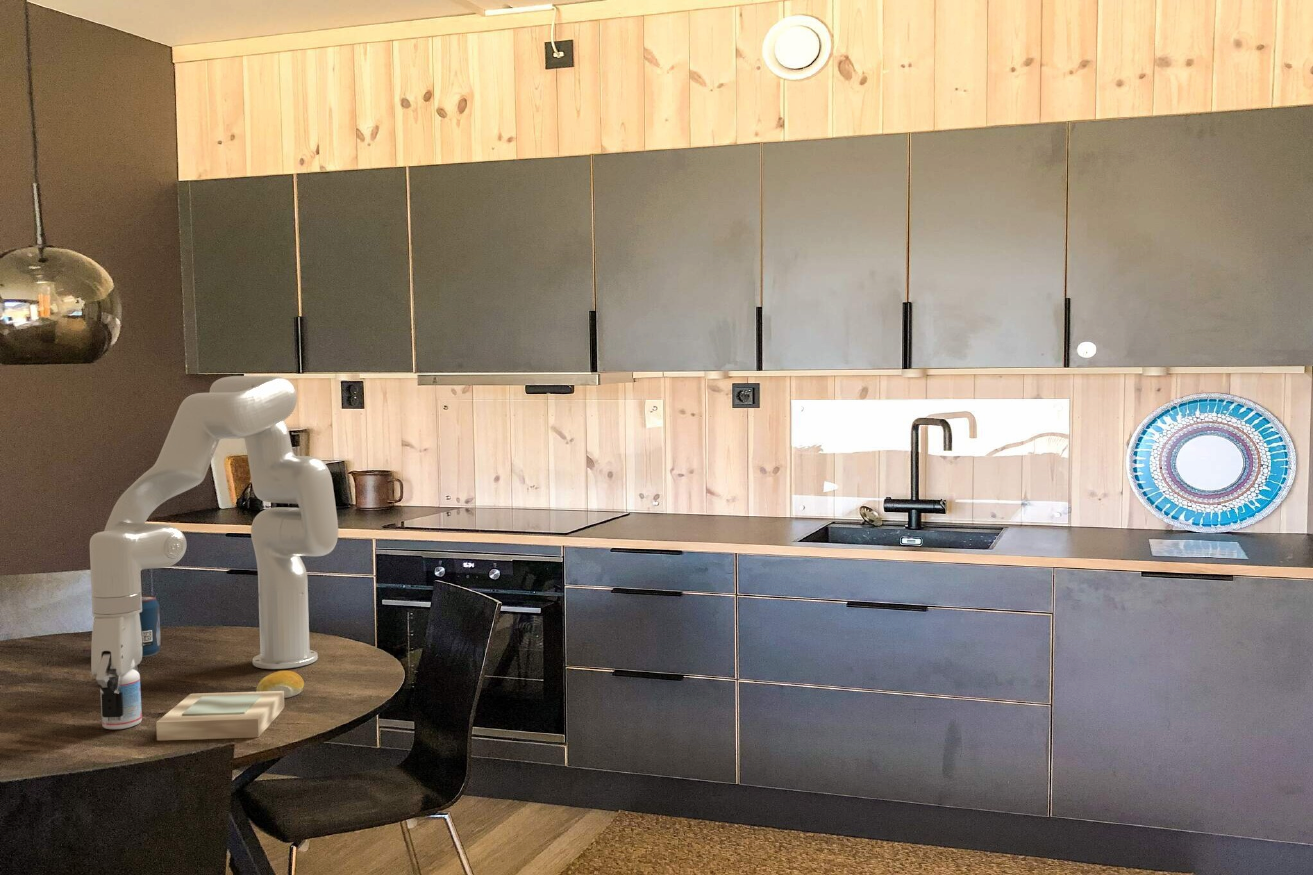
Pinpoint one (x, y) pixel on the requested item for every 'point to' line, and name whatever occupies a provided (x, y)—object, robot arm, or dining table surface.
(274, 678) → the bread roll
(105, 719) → the pill bottle
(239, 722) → the birch plinth
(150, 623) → the soda can
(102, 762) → the dining table surface
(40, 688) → the dining table surface
